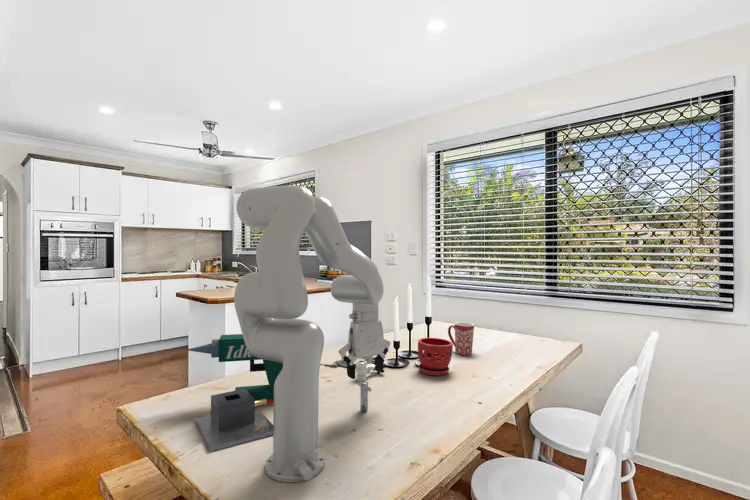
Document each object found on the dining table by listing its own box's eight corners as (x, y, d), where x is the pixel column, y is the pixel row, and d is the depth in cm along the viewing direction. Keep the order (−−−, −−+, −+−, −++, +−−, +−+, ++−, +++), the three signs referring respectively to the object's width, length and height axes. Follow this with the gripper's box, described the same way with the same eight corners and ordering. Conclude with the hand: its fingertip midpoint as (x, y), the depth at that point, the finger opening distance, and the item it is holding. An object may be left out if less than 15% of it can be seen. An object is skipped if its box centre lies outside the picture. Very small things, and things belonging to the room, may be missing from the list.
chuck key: (372, 413, 112) (373, 385, 112) (366, 415, 111) (366, 387, 110) (361, 406, 117) (361, 379, 117) (355, 407, 115) (355, 380, 115)
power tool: (181, 412, 111) (181, 342, 111) (186, 402, 118) (186, 336, 117) (295, 402, 119) (296, 336, 119) (294, 393, 126) (295, 331, 126)
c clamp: (353, 373, 148) (353, 366, 148) (317, 366, 157) (317, 359, 157) (379, 360, 166) (379, 354, 166) (345, 354, 174) (345, 348, 174)
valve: (364, 383, 136) (386, 375, 145) (364, 364, 136) (386, 357, 145) (350, 379, 141) (372, 371, 150) (350, 360, 141) (373, 354, 150)
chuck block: (281, 432, 99) (281, 405, 99) (210, 451, 90) (210, 421, 90) (258, 408, 114) (258, 384, 114) (195, 422, 105) (195, 396, 105)
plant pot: (437, 380, 141) (437, 347, 140) (410, 371, 150) (410, 340, 150) (459, 372, 149) (459, 341, 149) (432, 364, 159) (433, 335, 159)
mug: (478, 353, 177) (478, 323, 176) (467, 357, 170) (467, 326, 170) (454, 348, 185) (454, 319, 185) (443, 351, 179) (443, 322, 179)
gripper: (346, 322, 106) (346, 384, 106) (397, 314, 115) (396, 372, 116) (333, 317, 112) (333, 376, 112) (382, 310, 122) (382, 365, 122)
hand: (365, 374), depth 114 cm, fingers open, 9 cm apart
